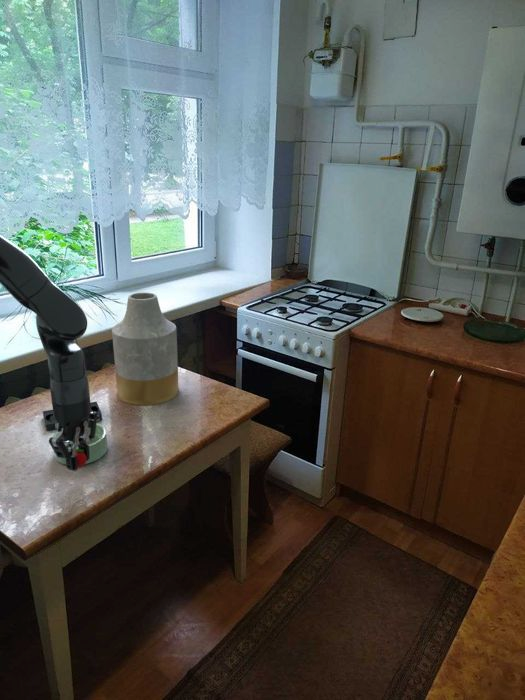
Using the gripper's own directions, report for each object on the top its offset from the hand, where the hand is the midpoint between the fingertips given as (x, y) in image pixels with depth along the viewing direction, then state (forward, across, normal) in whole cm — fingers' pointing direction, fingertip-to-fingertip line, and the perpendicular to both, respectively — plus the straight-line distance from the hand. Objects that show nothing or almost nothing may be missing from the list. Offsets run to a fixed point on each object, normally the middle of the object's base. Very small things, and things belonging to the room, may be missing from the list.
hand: (78, 464), depth 110 cm
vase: (+4, -44, -8) cm, 45 cm away
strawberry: (0, +1, 0) cm, 1 cm away
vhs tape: (+4, -22, -19) cm, 29 cm away
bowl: (+4, -9, -6) cm, 12 cm away
